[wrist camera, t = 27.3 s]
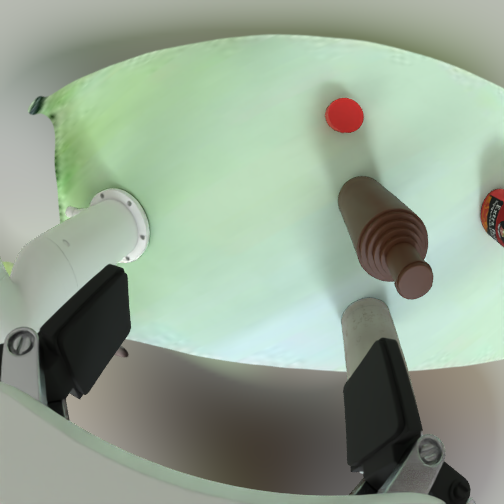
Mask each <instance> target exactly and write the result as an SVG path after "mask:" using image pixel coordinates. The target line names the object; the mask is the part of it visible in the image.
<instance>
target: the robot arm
mask: <svg viewBox="0 0 504 504" xmlns="http://www.w3.org/2000/svg"><path fill="white" fill-rule="evenodd" d="M66 216H67V217H70V218H69V219H67V220H65V221H64V222H62V223H60V224H58V225H57V226H55V227H53V228H51V229H50V230H48V231H46V232H44V233H43V234H41V235H40V236H38V237H36V238H34V239H33V240H31V241H30V242H28V243H27V244H26V245H25V246H24V247H23V248H22V249H21V251H20V252H19V254H18V256H17V258H16V260H15V262H14V265H13V268H12V271H11V275H10V277H9V275H8V273H7V272H6V270H5V267H4V265H3V263H2V261H1V258H0V504H476V503H475V502H474V500H473V499H472V498H470V499H469V496H470V485H469V483H468V481H467V480H466V479H465V478H464V477H463V476H462V475H460V474H459V473H458V472H457V471H455V470H454V469H453V468H452V467H451V466H449V465H448V464H447V463H446V462H444V459H445V448H444V445H443V443H442V442H441V440H440V439H439V438H438V437H436V436H434V435H431V434H426V435H423V436H421V431H422V425H421V421H420V417H419V413H418V409H417V405H416V401H415V397H414V394H413V390H412V387H411V383H410V380H409V377H408V373H407V370H406V367H405V364H404V361H403V357H402V354H401V351H400V348H399V346H398V343H397V341H396V340H395V339H389V338H384V337H382V338H380V339H379V340H376V341H375V342H374V344H373V345H372V347H371V348H370V350H369V351H368V353H367V354H366V356H365V357H364V358H363V360H362V361H361V363H360V364H359V366H358V367H357V368H356V370H355V371H354V373H353V374H352V375H351V377H350V378H349V379H348V381H347V382H346V384H345V386H344V390H343V393H344V406H345V419H346V439H347V463H348V465H350V466H351V472H363V476H364V478H363V479H362V480H361V481H360V483H359V484H358V485H357V486H356V487H355V489H354V490H353V491H352V492H351V493H350V494H349V495H348V496H314V495H295V494H284V493H275V492H267V491H260V490H253V489H247V488H241V487H236V486H231V485H227V484H222V483H218V482H213V481H209V480H206V479H202V478H199V477H195V476H192V475H188V474H185V473H182V472H179V471H176V470H173V469H170V468H167V467H164V466H161V465H159V464H156V463H153V462H151V461H148V460H146V459H143V458H141V457H138V456H136V455H134V454H131V453H129V452H127V451H124V450H122V449H120V448H118V447H116V446H114V445H112V444H110V443H108V442H106V441H104V440H102V439H100V438H99V437H97V436H95V435H93V434H91V433H89V432H87V431H86V430H84V429H82V428H80V427H79V426H77V425H75V424H73V423H72V422H70V421H69V415H68V410H67V404H66V397H67V396H68V394H69V393H70V394H72V395H73V396H75V397H77V398H78V399H80V398H81V397H82V395H83V394H84V395H86V394H87V393H88V392H89V391H90V390H91V388H92V387H93V385H94V384H95V382H96V380H97V379H98V377H99V376H100V375H101V373H102V371H103V370H104V369H105V367H106V365H107V364H108V363H109V361H110V360H111V358H112V357H113V356H114V354H115V353H116V351H117V350H118V348H119V347H120V346H121V344H122V343H123V341H124V340H125V338H126V337H127V336H128V334H129V332H130V329H131V321H130V310H129V296H128V277H127V274H126V273H124V269H123V268H121V267H118V266H115V265H116V264H117V263H118V262H122V263H128V262H132V261H135V260H136V259H138V258H139V257H140V256H141V255H142V254H143V253H144V252H145V250H146V248H147V246H148V243H149V237H150V230H149V223H148V219H147V217H146V214H145V212H144V210H143V208H142V206H141V205H140V204H139V202H138V201H137V200H136V199H135V198H134V197H133V196H132V195H131V194H129V193H127V192H126V191H124V190H121V189H117V188H109V189H106V190H103V191H101V192H99V193H97V194H96V195H95V196H94V197H93V199H92V201H91V202H90V205H89V207H88V208H86V209H85V208H81V209H78V208H76V207H73V206H68V207H67V209H66Z"/></svg>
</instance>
